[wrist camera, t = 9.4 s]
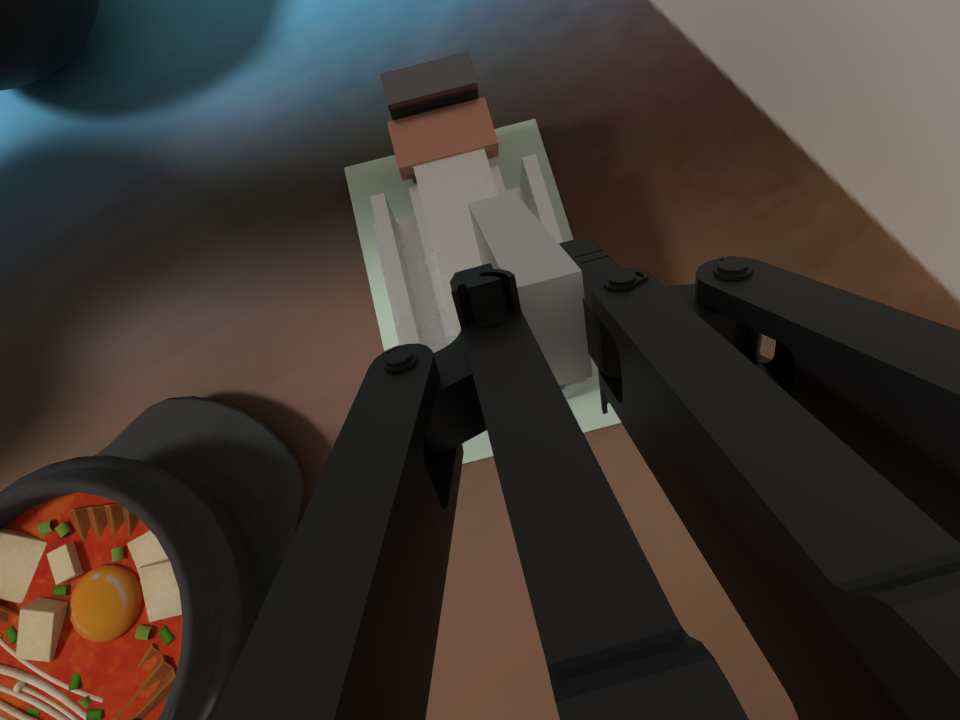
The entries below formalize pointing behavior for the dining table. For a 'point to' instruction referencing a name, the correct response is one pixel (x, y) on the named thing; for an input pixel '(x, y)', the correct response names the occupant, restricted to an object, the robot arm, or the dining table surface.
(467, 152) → the retention strap
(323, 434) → the dining table surface
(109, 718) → the casserole
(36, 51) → the coal bowl
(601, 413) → the circuit board
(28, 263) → the dining table surface
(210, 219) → the dining table surface
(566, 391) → the heat sink
